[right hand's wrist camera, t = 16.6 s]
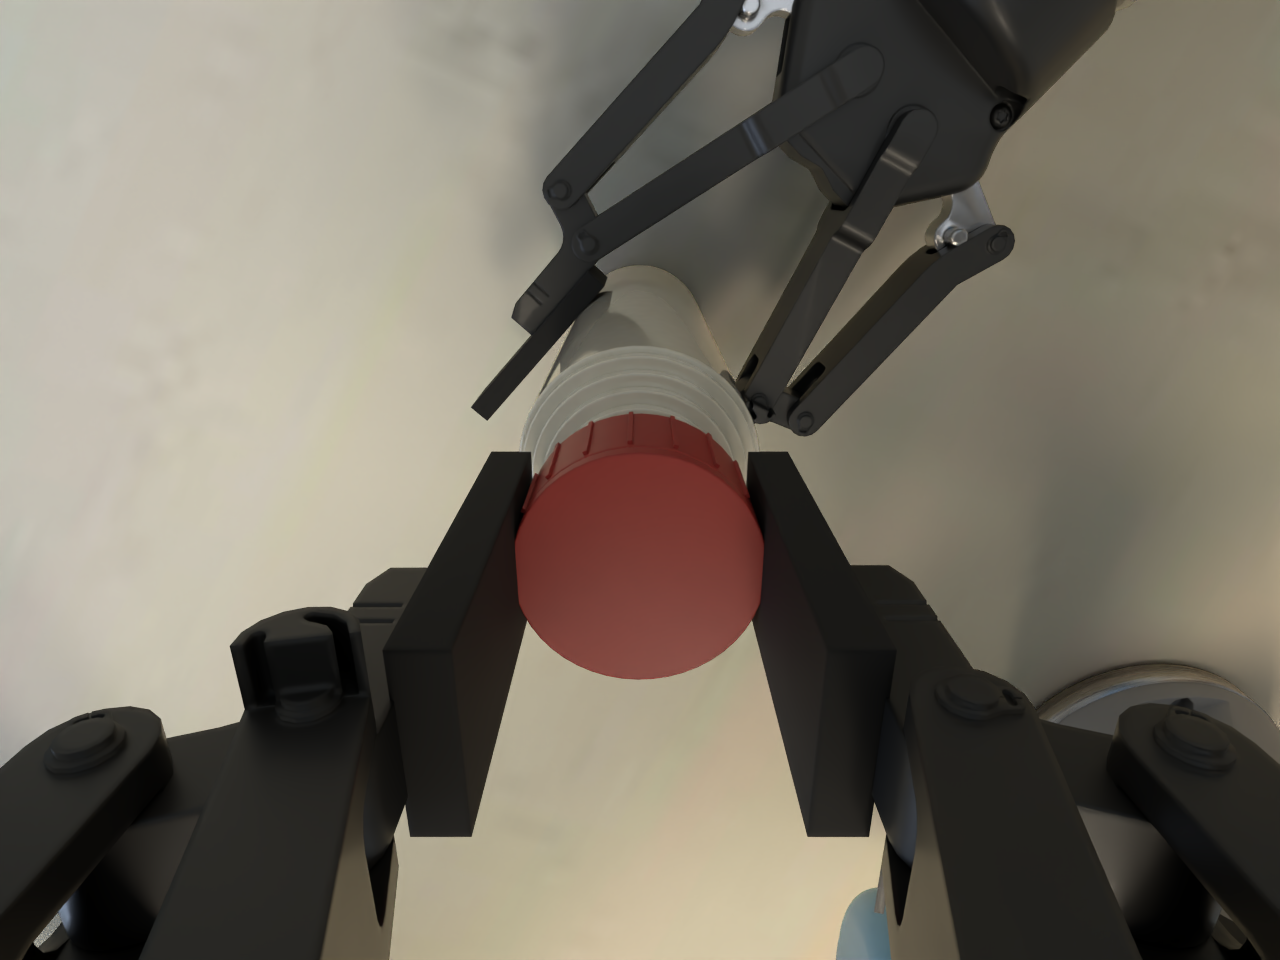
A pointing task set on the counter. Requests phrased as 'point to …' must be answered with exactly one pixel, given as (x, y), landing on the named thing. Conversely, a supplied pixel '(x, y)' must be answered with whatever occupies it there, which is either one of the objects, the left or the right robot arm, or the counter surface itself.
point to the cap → (639, 548)
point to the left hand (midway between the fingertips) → (550, 455)
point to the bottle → (640, 368)
